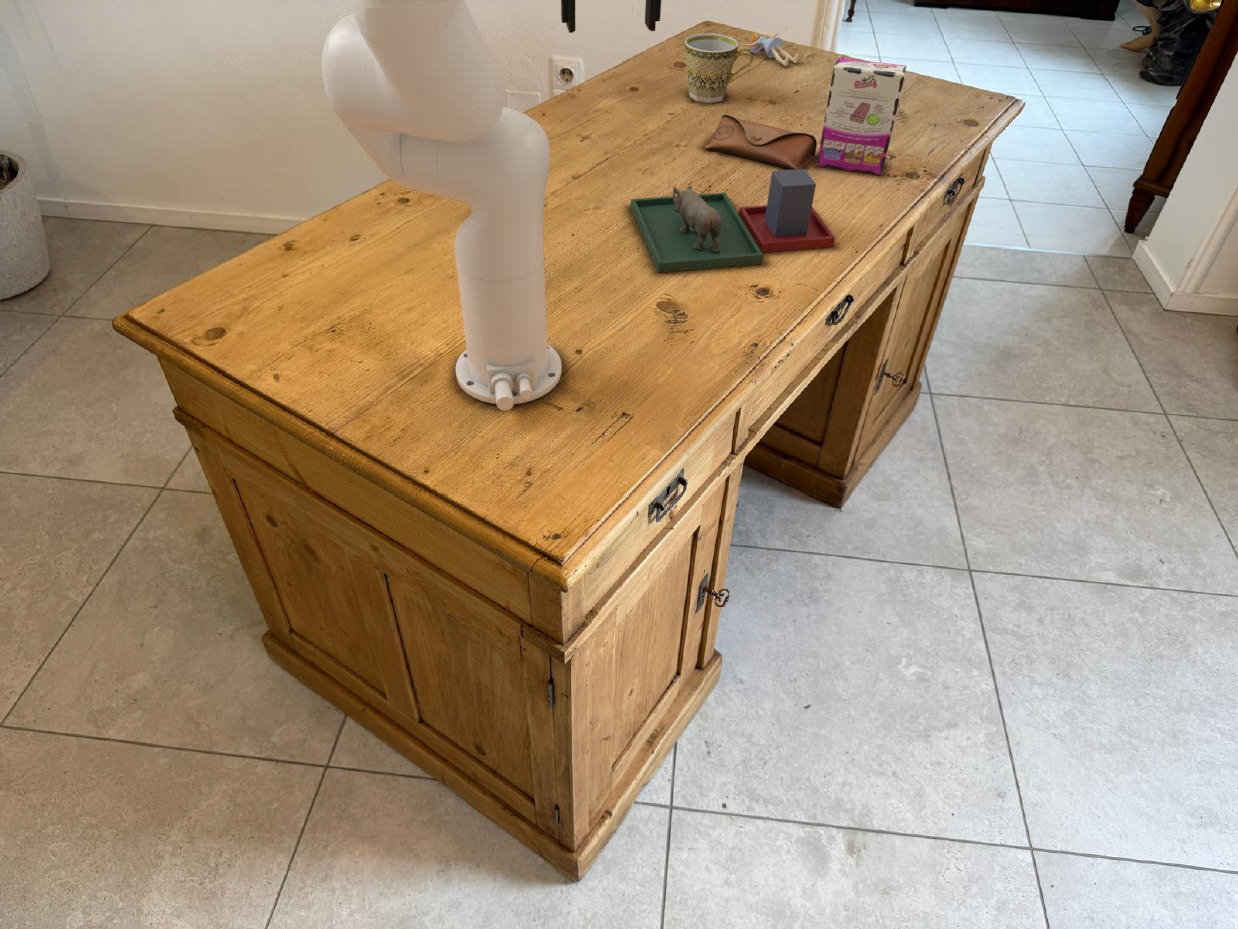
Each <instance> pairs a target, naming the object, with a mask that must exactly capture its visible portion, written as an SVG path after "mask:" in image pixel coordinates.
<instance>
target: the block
mask: <svg viewBox="0 0 1238 929" xmlns="http://www.w3.org/2000/svg"><path fill="white" fill-rule="evenodd" d="M816 188H817V183H816V182H815V181H814V179H813V178H812V177H811V175H810V174H809V173H808V172H807V170H806V169H805V168H802V169H784V170H783V169H782V170H772V171H771V175H770V182H769V189H768V195H767V201H766V202H767V203H766V205H767V208H766V215H765V222H766V224H767V226H768V227H769V229H770V230H771V232H772V233H773V235H774V236H775V237H782V236H795V235H806V234H807V230H808V225H809V219H810V214H811V209H812V207H813V204H814V198H815V193H816Z"/></svg>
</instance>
